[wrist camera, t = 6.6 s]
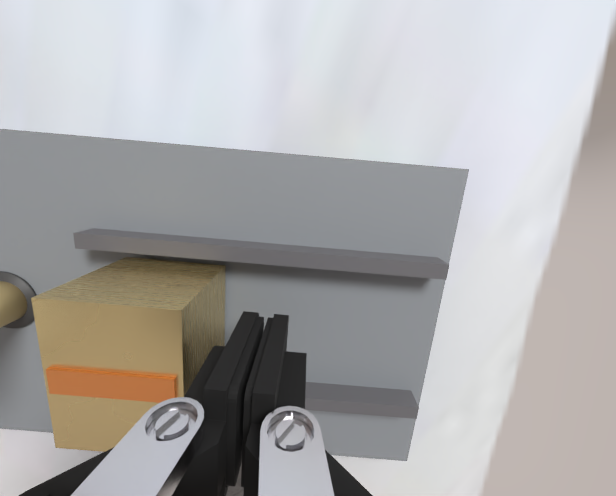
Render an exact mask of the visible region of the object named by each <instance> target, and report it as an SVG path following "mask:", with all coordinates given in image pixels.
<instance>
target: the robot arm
mask: <svg viewBox="0 0 616 496" xmlns="http://www.w3.org/2000/svg"><path fill="white" fill-rule="evenodd" d="M288 324H289V315H282V314H274V317H273V318H270V317H268V319H267V322H266V325H265V329H264V317H259V313H258V312H246V311H243V313H242V315H241V317H240V319H239V321H238V323H237V325H236V327H235V328H234V330H233V332H232V334H231V336H230V338H229V340H228V342H227V344H226V346H214V347H213V348H212V350H211V351H210V353H209V355H208V356H207V358H206V360H205V362H204V363H203V365H202V367H201V368H200V370H199V372H198V374H197V375H196V377H195V379H194V380H193V382H192V384H191V386H190V387H189V389H188V391H187V392H186V394H185V396H184V397H177V398H171V399H168V400H165V401H162V402H160V403H159V404H157V405H155V406H153V407H152V408H151V409H150V410H149V411H147V412H146V413H145V414H144V415H143V416H142V417H141V419H140V420H139V421H138V422H137V423H136V424H135V425H134V426H133V427H132V428H131V430H130V431H129V432H128V433H127V434H126V435H125V436H124V437H123V438H122V439H121V441H120V442H119V443H118V444H117V445H116V446H115V447H113V448H111V449H109V450H107V451H105V452H103V453H101V454H99V455H97V456H95V457H93V458H91V459H90V460H88V461H86V462H84V463H82V464H80V465H78V466H76V467H74V468H72V469H70V470H68V471H66V472H64V473H62V474H60V475H58V476H56V477H54V478H52V479H50V480H48V481H46V482H44V483H42V484H40V485H38V486H36V487H34V488H32V489H30V490H28V491H26V492H24V493H22V494H21V495H19V496H226V494H227V490H228V486H234V487H235V485H236V483H237V479H238V475H239V471H240V467H241V463H242V469H241V487H244V494H243V496H372V495H371V494H370V493H369V492H368V491H367V490H366V489H365V488H364V487H363V486H362V485H361V484H360V483H359V482H358V481H357V480H356V479H355V478H354V477H353V476H352V475H351V474H350V473H349V472H348V471H347V470H346V469H345V468H344V467H343V466H341V465H340V464H339V463H338V462H337V461H336V460H335V459H334V458H333V457H332V456H331V455H330V454H329V453H328V452H327V451H326V450H325V448H324V443H323V438H322V434H321V429H320V426H319V423H318V421H317V419H316V418H315V417H314V416H313V414H311V413H310V412H308V411H307V410H305V390H306V357H307V354H306V353H300V352H288V351H286V350H287V337H288ZM263 331H264V332H263Z"/></svg>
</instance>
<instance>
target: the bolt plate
mask: <svg viewBox="0 0 616 496" xmlns="http://www.w3.org/2000/svg"><path fill="white" fill-rule="evenodd" d="M468 171H469V169H458V168H446V167H434V166H423V165H411V164H400V163H388V162H377V161H365V160H354V159H342V158H330V157H319V156H307V155H296V154H284V153H273V152H261V151H250V150H238V149H226V148H215V147H203V146H192V145H180V144H169V143H157V142H146V141H134V140H122V139H111V138H99V137H88V136H76V135H65V134H53V133H41V132H30V131H18V130H7V129H0V428H2V429H14V430H27V431H39V432H51V433H53V428H52V422H51V416H50V410H49V404H48V398H47V392H46V386H45V379H44V373H43V367H42V361H41V355H40V349H39V343H38V337H37V331H36V325H35V319H34V313H33V307H32V301H31V298H32V297H34V296H37V295H39V294H41V293H44V292H46V291H48V290H51V289H53V288H55V287H58V286H60V285H62V284H65V283H67V282H69V281H72V280H74V279H76V278H79V277H81V276H83V275H86V274H88V273H90V272H93V271H95V270H97V269H100V268H102V267H104V266H107V265H109V264H111V263H114V262H116V261H118V260H121V259H123V258H125V257H133V258H145V259H157V260H168V261H180V262H192V263H204V264H216V265H226V275H225V346H226V344H227V342H228V340H229V338H230V336H231V334H232V332H233V330H234V328H235V327H236V325H237V323H238V321H239V319H240V317H241V315H242V313H243V311H246V312H258V313H259V317H264V329H265V325H266V322H267V319H268V317H270V318H273V317H274V314H282V315H289V324H288V337H287V350H286V351H288V352H300V353H306V354H307V357H306V390H305V410H307V411H308V412H310V413H311V414H313V416H314V417H315V418H316V419H317V421H318V423H319V426H320V429H321V434H322V438H323V443H324V448H325V450H326V451H327V452H328V453H329V454H330V455H338V456H351V457H363V458H375V459H388V460H400V461H407V458H408V453H409V449H410V444H411V439H412V434H413V430H414V425H415V420H416V418H417V414H418V409H419V407H418V406H419V402H420V397H421V392H422V387H423V383H424V378H425V373H426V369H427V364H428V359H429V355H430V350H431V345H432V341H433V336H434V331H435V326H436V322H437V317H438V312H439V308H440V303H441V298H442V294H443V289H444V284H445V280H446V278H447V273H448V268H449V261H450V256H451V251H452V247H453V242H454V237H455V232H456V228H457V223H458V218H459V214H460V209H461V204H462V200H463V195H464V190H465V186H466V181H467V176H468ZM263 332H264V331H263Z"/></svg>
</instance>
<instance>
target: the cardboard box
mask: <svg viewBox="0 0 616 496" xmlns="http://www.w3.org/2000/svg"><path fill="white" fill-rule="evenodd" d="M225 275H226V265H216V264H204V263H192V262H180V261H168V260H157V259H145V258H133V257H125V258H123V259H121V260H118V261H116V262H114V263H111V264H109V265H107V266H104V267H102V268H100V269H97V270H95V271H93V272H90V273H88V274H86V275H83V276H81V277H79V278H76V279H74V280H72V281H69V282H67V283H65V284H62V285H60V286H58V287H55V288H53V289H51V290H48V291H46V292H44V293H41V294H39V295H37V296H34V297H32V298H31V301H32V307H33V313H34V319H35V325H36V331H37V337H38V343H39V349H40V355H41V361H42V367H43V373H44V379H45V386H46V392H47V398H48V404H49V410H50V416H51V422H52V428H53V434H54V440H55V446H56V448H66V449H78V450H91V451H103V452H105V451H107V450H109V449H111V448H113V447H115V446H116V445H117V444H118V443H119V442H120V441H121V439H122V438H123V437H124V436H125V435H126V434H127V433H128V432H129V431H130V430H131V428H132V427H133V426H134V425H135V424H136V423H137V422H138V421H139V420H140V419H141V417H142V416H143V415H144V414H145V413H146V412H147V411H149V410H150V409H151V408H152V407H153V406H155V405H157V404H159V403H160V402H162V401H165V400H168V399H171V398H177V397H184V396H185V394H186V392H187V391H188V389H189V387H190V386H191V384H192V382H193V380H194V379H195V377H196V375H197V374H198V372H199V370H200V368H201V367H202V365H203V363H204V362H205V360H206V358H207V356H208V355H209V353H210V351H211V350H212V348H213V347H214V346H225Z"/></svg>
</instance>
